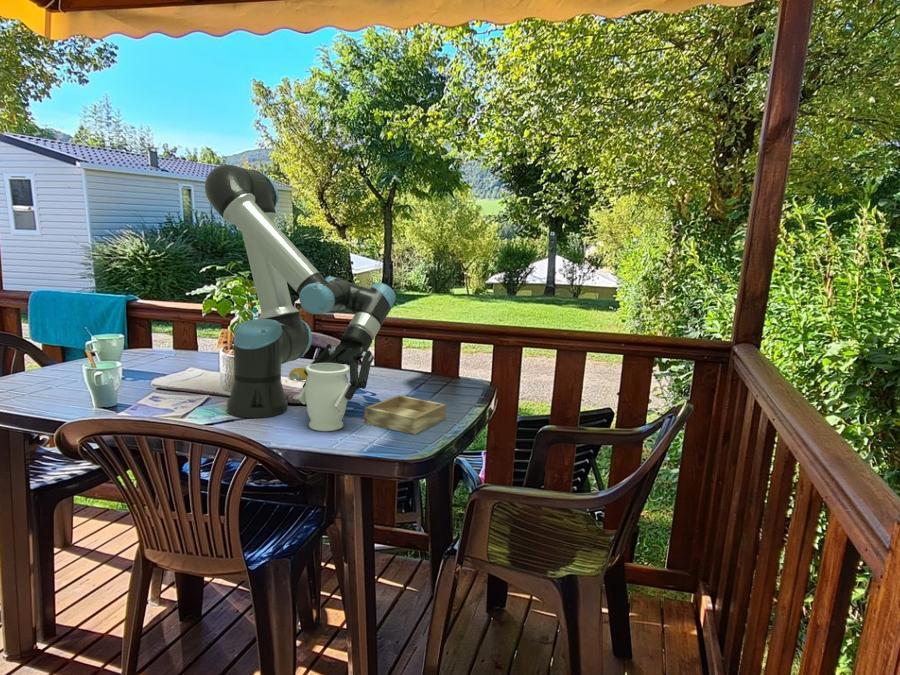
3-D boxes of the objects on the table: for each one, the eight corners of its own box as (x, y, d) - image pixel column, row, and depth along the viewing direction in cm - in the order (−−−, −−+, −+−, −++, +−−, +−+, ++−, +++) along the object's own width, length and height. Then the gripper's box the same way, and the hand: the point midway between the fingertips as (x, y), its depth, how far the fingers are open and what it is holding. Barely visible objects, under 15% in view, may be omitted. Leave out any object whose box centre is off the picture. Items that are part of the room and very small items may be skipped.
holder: (363, 422, 148) (364, 407, 147) (397, 409, 162) (398, 395, 161) (414, 434, 141) (415, 418, 140) (445, 419, 155) (446, 404, 154)
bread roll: (322, 379, 192) (322, 367, 192) (301, 383, 185) (301, 371, 184) (305, 374, 197) (305, 363, 196) (284, 378, 190) (284, 366, 189)
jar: (350, 432, 140) (352, 371, 137) (306, 434, 137) (307, 372, 134) (344, 418, 150) (346, 361, 147) (303, 420, 147) (304, 362, 144)
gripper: (402, 348, 149) (364, 422, 137) (331, 337, 159) (290, 405, 147) (392, 330, 143) (351, 405, 132) (319, 320, 153) (275, 388, 142)
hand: (319, 405), depth 140 cm, fingers closed on jar, 10 cm apart
